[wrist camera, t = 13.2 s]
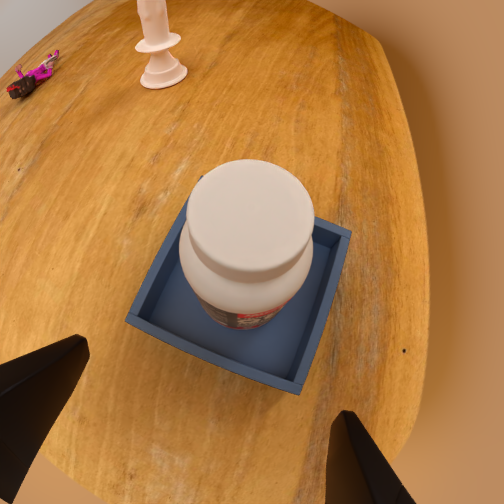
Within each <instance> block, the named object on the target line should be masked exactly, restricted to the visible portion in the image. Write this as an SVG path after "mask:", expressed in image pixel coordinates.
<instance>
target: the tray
mask: <svg viewBox="0 0 504 504" xmlns="http://www.w3.org/2000/svg"><path fill="white" fill-rule="evenodd" d="M202 177H203V176H201V177H200V179H201V178H202ZM200 179H199V180H200ZM199 180H198V182H199ZM198 182H197V183H198ZM195 186H196V185H195ZM190 195H191V194H190ZM189 197H190V196H189ZM189 197H188V199H187V201H186V202H185V204H184V206H183V208H182V209H181V211H180V213H179V215H178V216H177V218H176V220H175V222H174V224H173V225H172V227H171V229H170V231H169V233H168V235H167V236H166V238H165V240H164V242H163V244H162V246H161V248H160V250H159V252H158V253H157V255H156V257H155V259H154V261H153V263H152V265H151V267H150V269H149V271H148V273H147V275H146V277H145V279H144V281H143V283H142V285H141V287H140V289H139V291H138V293H137V295H136V298H135V300H134V302H133V304H132V306H131V308H130V310H129V313H128V315H127V317H126V319H125V322H127V323H129V324H130V325H132V326H134V327H136V328H138V329H140V330H142V331H144V332H146V333H148V334H150V335H151V336H153V337H155V338H157V339H159V340H161V341H164V342H166V343H168V344H170V345H172V346H174V347H176V348H178V349H180V350H182V351H185V352H187V353H189V354H191V355H193V356H196V357H198V358H200V359H202V360H205V361H207V362H209V363H212V364H214V365H216V366H219V367H221V368H224V369H226V370H229V371H231V372H234V373H236V374H239V375H241V376H244V377H247V378H249V379H252V380H255V381H257V382H260V383H263V384H266V385H268V386H271V387H274V388H277V389H280V390H283V391H286V392H289V393H292V394H295V395H300V392H301V390H302V387H303V385H304V382H305V380H306V377H307V375H308V372H309V369H310V367H311V364H312V361H313V358H314V356H315V353H316V350H317V347H318V344H319V341H320V339H321V336H322V333H323V330H324V327H325V324H326V321H327V318H328V314H329V311H330V308H331V305H332V302H333V298H334V295H335V292H336V288H337V285H338V282H339V278H340V275H341V271H342V268H343V264H344V260H345V257H346V253H347V249H348V245H349V241H350V237H351V233H352V231H350V230H347V229H345V228H343V227H340V226H338V225H335V224H333V223H330V222H328V221H325V220H323V219H320V218H318V217H315V216H314V227H313V232H312V235H311V236H312V241H313V257H312V262H311V266H310V269H309V272H308V275H307V277H306V279H305V281H304V283H303V285H302V286H301V288H300V289H299V290H298V291H297V293H296V294H295V295H294V296H293V297H292V298H291V299H290V300H289V301H288V302H287V303H286V305H285V306H284V307H283V308H282V309H281V310H280V311H279V312H278V313H277V315H276V316H275V317H274V318H272V319H271V320H270V321H269V322H267V323H266V324H264V325H262V326H260V327H257V328H254V329H249V330H235V329H231V328H227V327H225V326H222V325H220V324H219V323H217V322H216V321H214V320H213V319H212V318H211V317H210V316H209V315H208V314H207V313H206V311H205V310H204V309H203V307H202V306H201V304H200V302H199V300H198V298H197V297H196V295H195V293H194V291H193V290H192V288H191V286H190V284H189V283H188V281H187V279H186V277H185V275H184V272H183V269H182V266H181V262H180V255H179V242H180V236H181V232H182V229H183V226H184V224H185V222H186V220H187V219H186V211H187V204H188V200H189Z"/></svg>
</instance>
